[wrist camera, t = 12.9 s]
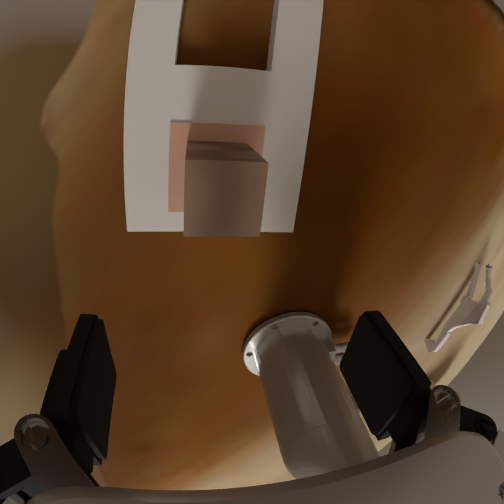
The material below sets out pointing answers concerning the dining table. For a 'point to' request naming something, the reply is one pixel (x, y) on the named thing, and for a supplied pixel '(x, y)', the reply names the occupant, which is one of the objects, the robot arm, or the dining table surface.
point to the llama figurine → (465, 311)
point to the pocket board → (215, 112)
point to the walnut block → (223, 189)
